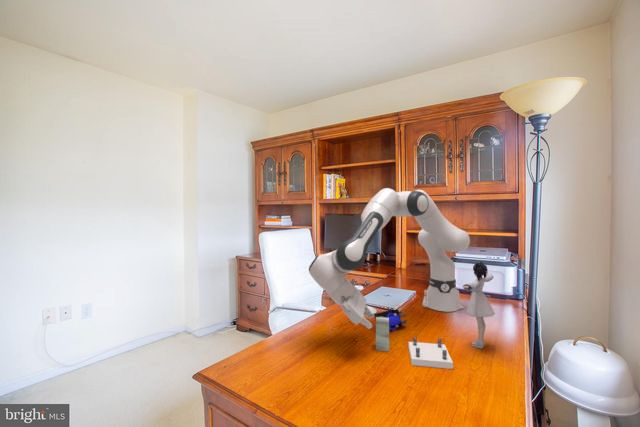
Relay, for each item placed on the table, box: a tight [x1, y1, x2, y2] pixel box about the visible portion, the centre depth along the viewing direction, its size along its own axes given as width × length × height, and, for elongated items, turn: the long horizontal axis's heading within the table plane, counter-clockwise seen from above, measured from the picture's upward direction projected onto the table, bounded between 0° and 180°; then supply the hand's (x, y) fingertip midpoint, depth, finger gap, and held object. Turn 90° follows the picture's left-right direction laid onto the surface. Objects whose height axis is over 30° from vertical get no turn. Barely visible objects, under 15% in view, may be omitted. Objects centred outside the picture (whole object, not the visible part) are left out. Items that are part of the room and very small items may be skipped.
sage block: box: [375, 317, 390, 352], centre depth 105 cm, size 4×4×10 cm
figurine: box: [461, 261, 496, 349], centre depth 104 cm, size 25×8×30 cm, turn 135°
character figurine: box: [373, 308, 408, 332], centre depth 120 cm, size 8×7×15 cm
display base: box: [408, 336, 454, 370], centre depth 98 cm, size 12×12×4 cm
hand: (371, 321), depth 106 cm, fingers open, 8 cm apart
